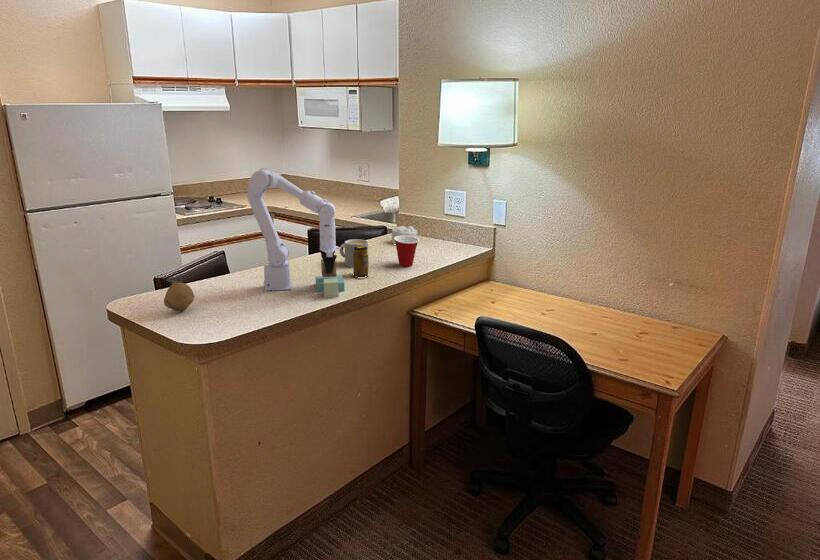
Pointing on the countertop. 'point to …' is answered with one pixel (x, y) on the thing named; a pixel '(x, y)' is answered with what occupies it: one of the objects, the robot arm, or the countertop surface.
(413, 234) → the lumpy-topped squat cylinder
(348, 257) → the coffee mug
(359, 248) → the condiment
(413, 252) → the plastic cup
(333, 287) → the sage block
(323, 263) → the walnut block
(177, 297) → the brown round lump
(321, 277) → the teal base block
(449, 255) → the countertop surface
